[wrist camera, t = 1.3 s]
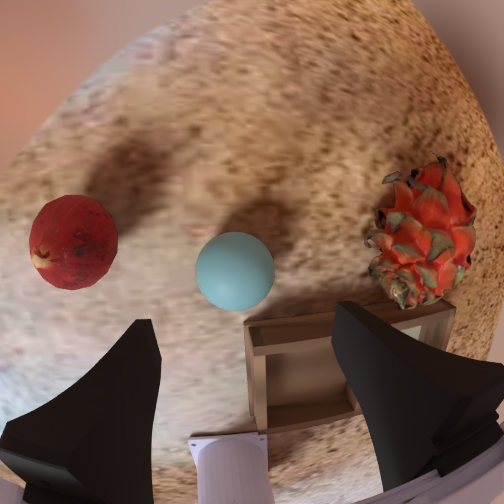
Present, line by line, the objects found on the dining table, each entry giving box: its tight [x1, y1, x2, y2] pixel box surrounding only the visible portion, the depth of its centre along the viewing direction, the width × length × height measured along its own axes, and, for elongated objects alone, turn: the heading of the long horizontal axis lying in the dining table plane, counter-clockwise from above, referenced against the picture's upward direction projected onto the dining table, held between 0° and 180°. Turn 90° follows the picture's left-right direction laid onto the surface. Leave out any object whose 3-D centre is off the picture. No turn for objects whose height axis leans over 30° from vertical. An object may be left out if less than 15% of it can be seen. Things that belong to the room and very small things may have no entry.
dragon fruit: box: [364, 151, 476, 311], centre depth 19 cm, size 8×8×12 cm
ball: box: [196, 232, 275, 311], centre depth 19 cm, size 5×5×5 cm
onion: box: [29, 195, 118, 290], centre depth 16 cm, size 6×6×8 cm
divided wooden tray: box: [243, 298, 456, 435], centre depth 23 cm, size 10×19×3 cm, turn 93°
